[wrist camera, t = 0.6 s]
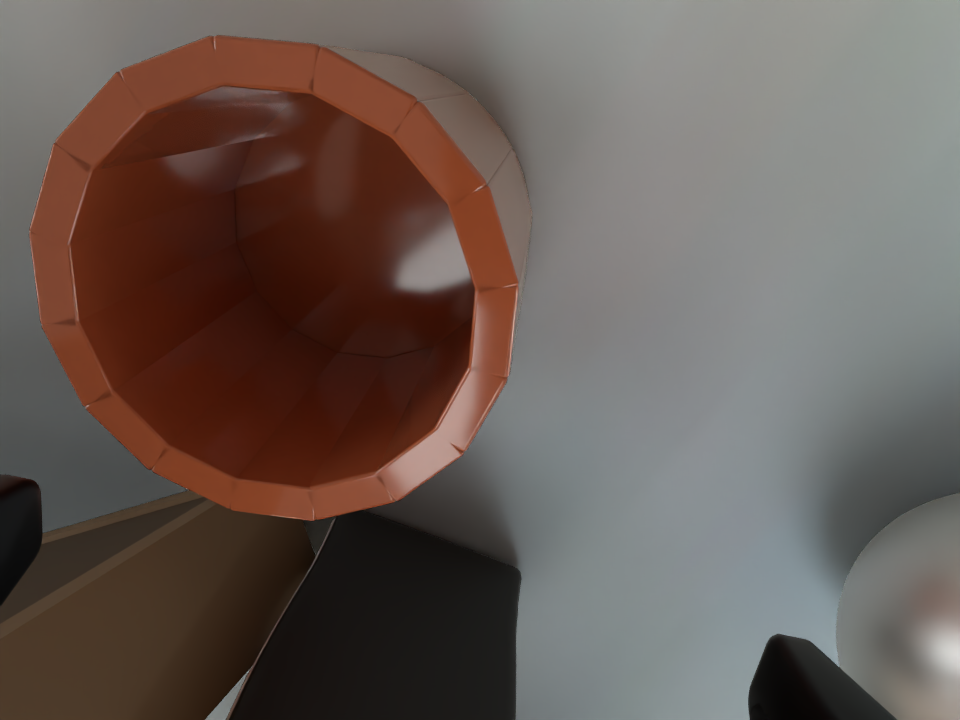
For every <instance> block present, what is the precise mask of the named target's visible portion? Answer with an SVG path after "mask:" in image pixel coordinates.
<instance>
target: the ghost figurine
mask: <svg viewBox="0 0 960 720" xmlns="http://www.w3.org/2000/svg"><path fill="white" fill-rule="evenodd" d="M836 642H837V652H838V659H839V664H840V668H841V669H842V670H843V671H844V672H845V673H846V674H847V675H848V676H850V677H851V678H852V679H853V680H854V681H855V682H856V683H857V684H858V685H860V686H861V687H862V688H863V689H864V690H865V691H866V692H867V693H868V694H870V695H871V696H872V697H873V698H874V699H875V700H876V701H877V702H878V703H880V704H881V705H882V706H883V707H884V708H885V709H886V710H887V711H888V712H890V713H891V714H892V715H893V716H894V717H895V718H896V719H897V720H960V493H957V494H952V495H948V496H945V497H941V498H938V499H935V500H932V501H929V502H927V503H924V504H922V505H920V506H918V507H915V508H913V509H911V510H910V511H908V512H906V513H904V514H903V515H901V516H899V517H898V518H896V519H895V520H893V521H892V522H891V523H889V524H888V525H887V526H886V527H884V528H883V529H882V530H881V531H880V532H879V533H878V534H877V535H876V536H875V537H874V538H873V539H872V540H871V541H870V542H869V543H868V544H867V545H866V547H865V548H864V549H863V550H862V552H861V553H860V555H859V556H858V558H857V559H856V561H855V563H854V564H853V566H852V568H851V570H850V572H849V574H848V576H847V579H846V581H845V584H844V587H843V590H842V593H841V597H840V601H839V606H838V612H837V622H836Z"/></svg>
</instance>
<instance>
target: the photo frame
mask: <svg viewBox="0 0 960 720" xmlns="http://www.w3.org/2000/svg"><path fill="white" fill-rule="evenodd" d="M314 559H315V554H314V551H313V548H312V545H311V543H310V540H309V537H308V534H307V531H306V528H305V525H304V523H303V520H301V519H293V518H286V517H278V516H270V515H263V514H255V513H247V512H239V511H232V510H231V508H230V509H228V508H225V507H223V506H221V505H219V504H217V503H215V502H213V501H211V500H209V499H207V498H205V497H203V496H201V495H199V494H197V493H195V492H193V491H191V490H188V491H185V492H182V493H178V494H175V495H171V496H168V497H165V498H161V499H158V500H154V501H151V502H148V503H144V504H141V505H138V506H134V507H131V508H127V509H124V510H121V511H117V512H114V513H110V514H107V515H104V516H100V517H97V518H94V519H90V520H87V521H83V522H80V523H77V524H73V525H70V526H66V527H63V528H60V529H56V530H53V531H50V532H46V533H43V537H42V544H41V547H40V550H39V552H38V554H37V556H36V558H35V560H34V561H33V562H32V564H31V565H30V567H29V568H28V569H27V571H26V572H25V573H24V575H23V576H22V578H21V579H20V580H19V582H18V583H17V585H16V586H15V587H14V589H13V590H12V592H11V593H10V594H9V596H8V597H7V599H6V600H5V601H4V603H3V604H2V605H1V607H0V720H205V719H206V718H207V716H208V715H209V714H210V713H211V712H212V711H213V710H214V709H215V707H216V706H217V705H218V704H219V703H220V702H221V701H222V699H223V698H224V697H225V696H226V695H227V694H228V693H229V691H230V690H231V689H232V688H233V687H234V686H235V685H236V684H237V682H238V681H239V680H240V679H241V678H242V677H243V676H244V674H245V673H246V672H247V671H248V670H249V669H250V668H251V666H252V665H253V664H254V662H255V660H256V658H257V656H258V655H259V653H260V651H261V649H262V647H263V645H264V644H265V642H266V640H267V638H268V637H269V635H270V633H271V632H272V630H273V628H274V627H275V625H276V623H277V622H278V620H279V618H280V617H281V615H282V613H283V611H284V610H285V608H286V606H287V605H288V603H289V602H290V600H291V598H292V597H293V595H294V593H295V592H296V590H297V589H298V587H299V586H300V584H301V582H302V581H303V579H304V578H305V576H306V574H307V572H308V570H309V569H310V567H311V565H312V563H313V561H314Z"/></svg>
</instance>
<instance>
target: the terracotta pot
mask: <svg viewBox="0 0 960 720" xmlns="http://www.w3.org/2000/svg"><path fill="white" fill-rule="evenodd" d="M531 224H532V210H531V207H530V203H529V196H528V192H527V187H526V183H525V178H524V175H523V173H522V170H521V167H520V164H519V161H518V159H517V156H516V154H515V151H514V149H513V148H512V146H511V144H510V143H509V141H508V139H507V137H506V135H505V134H504V133H503V131H502V130H501V128H500V127H499V125H498V124H497V122H496V121H495V119H494V118H493V117H492V116H491V115H490V114H489V113H488V112H487V110H486V109H485V108H484V107H483V106H482V105H481V104H480V103H479V102H478V101H477V100H476V99H475V98H474V97H473V96H472V95H471V94H469V93H468V92H467V91H466V90H465V89H463V88H462V87H461V86H459V85H457V84H456V83H454V82H453V81H451V80H450V79H448V78H447V77H445V76H444V75H442V74H440V73H437V72H435V71H433V70H431V69H429V68H427V67H425V66H423V65H420V64H418V63H416V62H414V61H412V60H411V59H406V58H404V57H400V56H394V55H387V54H381V53H374V52H367V51H361V50H354V49H348V48H341V47H335V46H328V45H321V44H314V43H303V42H292V41H281V40H270V39H259V38H248V37H237V36H226V35H216V36H207V37H205V38H202V39H199V40H197V41H194V42H191V43H189V44H186V45H183V46H181V47H178V48H176V49H173V50H170V51H168V52H165V53H162V54H160V55H157V56H154V57H152V58H149V59H147V60H144V61H141V62H139V63H136V64H133V65H131V66H128V67H125V68H123V69H121V70H120V71H118V72H116V73H115V74H114V75H113V76H112V77H111V79H110V80H109V81H108V82H107V83H106V84H105V85H104V86H103V87H102V89H101V90H100V91H99V92H98V93H97V94H96V95H95V96H94V98H93V99H92V100H91V101H90V102H89V103H88V104H87V105H86V106H85V108H84V109H83V110H82V111H81V112H80V113H79V114H78V115H77V116H76V118H75V119H74V120H73V121H72V122H71V123H70V124H69V125H68V127H67V128H66V129H65V130H64V131H63V132H62V133H61V134H60V135H59V137H58V138H57V139H56V140H55V143H54V144H53V147H52V150H51V154H50V157H49V161H48V164H47V168H46V171H45V175H44V179H43V182H42V186H41V189H40V193H39V196H38V200H37V203H36V207H35V211H34V214H33V218H32V221H31V225H30V228H29V231H30V233H29V238H30V246H31V254H32V261H33V269H34V277H35V284H36V292H37V300H38V307H39V315H40V322H41V324H42V328H43V330H44V332H45V334H46V336H47V338H48V340H49V342H50V344H51V346H52V347H53V349H54V351H55V353H56V355H57V357H58V359H59V361H60V363H61V365H62V367H63V368H64V370H65V372H66V374H67V376H68V378H69V380H70V382H71V384H72V386H73V388H74V390H75V391H76V393H77V395H78V397H79V399H80V401H81V403H82V405H83V406H86V407H85V408H86V410H87V411H88V412H89V413H90V414H91V415H92V416H93V417H95V418H96V419H97V420H98V421H99V422H100V423H101V424H102V425H103V426H104V427H105V428H106V429H107V430H108V431H109V432H110V433H111V434H112V435H113V436H114V437H115V438H116V439H117V440H118V441H119V442H120V443H121V444H122V445H124V446H125V447H126V448H127V449H128V450H129V451H130V452H131V453H132V454H133V455H134V456H135V457H136V458H137V459H138V460H139V461H140V462H141V463H142V464H143V465H144V466H145V467H146V468H147V469H149V470H152V471H153V472H154V473H156V474H158V475H160V476H162V477H164V478H166V479H168V480H170V481H172V482H174V483H176V484H178V485H180V486H182V487H184V488H186V489H188V490H191V491H193V492H195V493H197V494H199V495H201V496H203V497H205V498H207V499H209V500H211V501H213V502H215V503H217V504H219V505H221V506H223V507H225V508H228V509H230V508H231V510H232V511H239V512H247V513H255V514H263V515H270V516H278V517H286V518H293V519H301V520H309V521H315V520H316V519H317V520H320V519H325V518H329V517H333V516H338V515H342V514H346V513H351V512H355V511H359V510H364V509H368V508H372V507H377V506H381V505H385V504H390V503H393V502H395V501H399V500H401V499H402V498H404V497H405V496H407V495H408V494H409V493H411V492H412V491H414V490H415V489H416V488H418V487H419V486H421V485H422V484H423V483H425V482H426V481H428V480H429V479H430V478H432V477H433V476H435V475H436V474H437V473H439V472H440V471H442V470H443V469H444V468H446V467H447V466H449V465H450V464H451V463H453V462H454V461H456V460H457V459H458V458H460V457H461V456H463V454H464V452H465V451H466V450H467V449H468V448H469V446H470V444H471V443H472V441H473V439H474V438H475V436H476V434H477V432H478V431H479V429H480V427H481V426H482V424H483V422H484V420H485V419H486V417H487V415H488V414H489V412H490V410H491V409H492V407H493V405H494V403H495V402H496V400H497V398H498V397H499V395H500V393H501V391H502V390H503V388H504V386H505V385H506V383H507V379H508V376H509V375H510V370H511V364H512V358H513V352H514V346H515V339H516V333H517V327H518V321H519V315H520V309H521V302H522V296H523V290H524V284H525V278H526V269H527V260H528V251H529V244H530V233H531Z"/></svg>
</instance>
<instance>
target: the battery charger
mask: <svg viewBox="0 0 960 720" xmlns="http://www.w3.org/2000/svg"><path fill="white" fill-rule="evenodd" d="M520 585H521V573H520V571H519V570H518V569H517V568H515V567H513V566H510V565H508V564H505V563H503V562H500V561H497V560H495V559H492V558H490V557H487V556H485V555H482V554H480V553H477V552H474V551H472V550H469V549H466V548H464V547H461V546H458V545H456V544H453V543H450V542H448V541H445V540H442V539H440V538H437V537H435V536H432V535H429V534H426V533H423V532H421V531H418V530H415V529H412V528H409V527H407V526H404V525H401V524H398V523H396V522H393V521H390V520H387V519H384V518H381V517H379V516H376V515H373V514H370V513H367V512H364V511H361V510H359V511H355V512H351V513H346V514H342V515H338V516H336V518H334V520H333V521H332V522H331V525H330V527H329V530H328V532H327V534H326V536H325V538H324V541H323V543H322V545H321V547H320V549H319V551H318V553H317V555H316V557H315V559H314V561H313V563H312V565H311V567H310V569H309V570H308V572H307V574H306V576H305V578H304V579H303V581H302V582H301V584H300V586H299V587H298V589H297V590H296V592H295V593H294V595H293V597H292V598H291V600H290V602H289V603H288V605H287V606H286V608H285V610H284V611H283V613H282V615H281V617H280V618H279V620H278V622H277V623H276V625H275V627H274V628H273V630H272V632H271V633H270V635H269V637H268V638H267V640H266V642H265V644H264V645H263V647H262V649H261V651H260V653H259V655H258V656H257V658H256V660H255V662H254V664H253V666H252V667H251V669H250V671H249V673H248V675H247V677H246V679H245V681H244V683H243V685H242V687H241V689H240V691H239V693H238V695H237V697H236V699H235V701H234V703H233V705H232V708H231V710H230V712H229V714H228V716H227V718H226V720H516V627H517V616H518V602H519V593H520Z"/></svg>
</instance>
